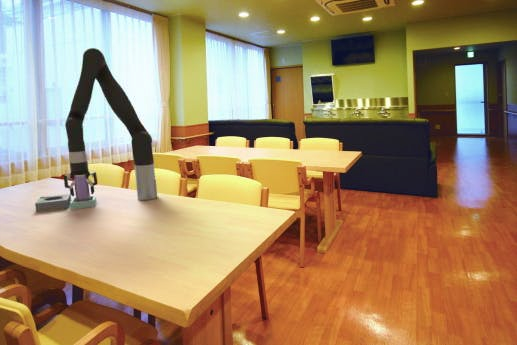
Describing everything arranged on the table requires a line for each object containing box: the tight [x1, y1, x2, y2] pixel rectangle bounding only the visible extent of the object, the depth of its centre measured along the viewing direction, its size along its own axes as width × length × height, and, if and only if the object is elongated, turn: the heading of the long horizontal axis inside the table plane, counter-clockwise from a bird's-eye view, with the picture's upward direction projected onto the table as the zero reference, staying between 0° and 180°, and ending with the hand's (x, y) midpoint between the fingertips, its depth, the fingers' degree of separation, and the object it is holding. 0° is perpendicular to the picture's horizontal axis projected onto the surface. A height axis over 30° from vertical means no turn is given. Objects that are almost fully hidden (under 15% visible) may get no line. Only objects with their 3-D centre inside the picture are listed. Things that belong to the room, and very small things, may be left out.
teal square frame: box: [69, 194, 97, 210], centre depth 174 cm, size 10×10×3 cm
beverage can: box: [73, 174, 91, 202], centre depth 173 cm, size 6×6×15 cm
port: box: [34, 193, 72, 213], centre depth 173 cm, size 13×13×4 cm
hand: (82, 194), depth 173 cm, fingers open, 7 cm apart
